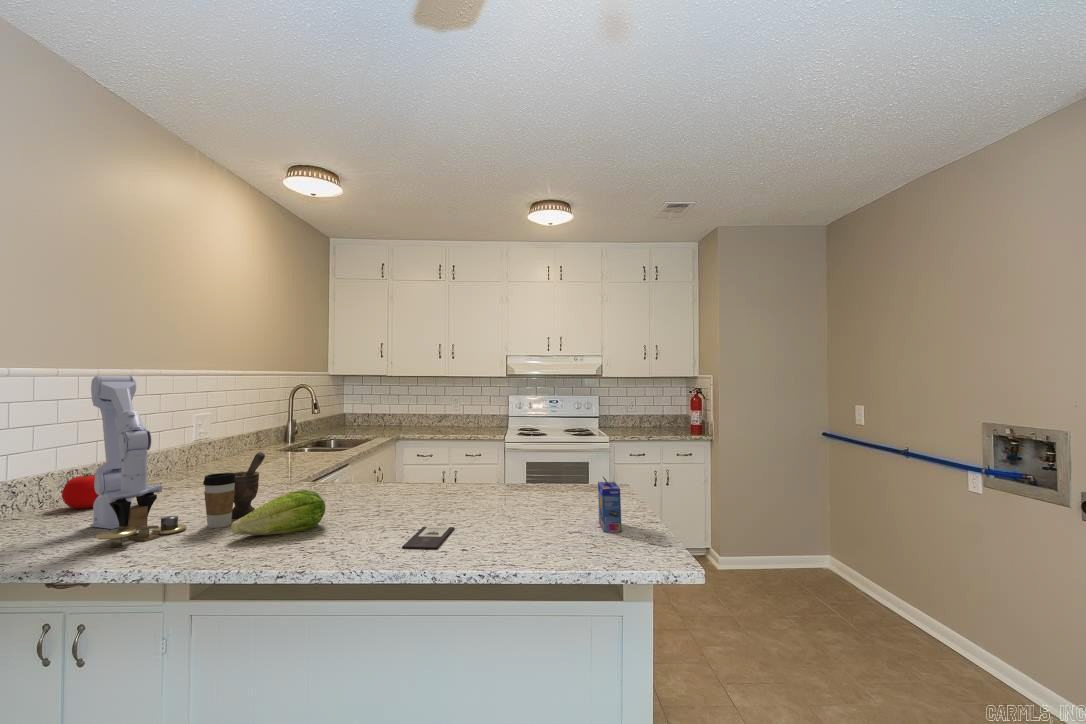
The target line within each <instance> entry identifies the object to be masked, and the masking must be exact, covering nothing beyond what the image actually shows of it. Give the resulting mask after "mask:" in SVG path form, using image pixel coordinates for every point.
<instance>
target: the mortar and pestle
mask: <svg viewBox="0 0 1086 724" xmlns="http://www.w3.org/2000/svg"><path fill="white" fill-rule="evenodd" d="M265 457H266V454H265V453H264V452H261V451H259V452H257V453H256V454H255V455H254V456H253V459H252V461H251V463H250V465H249V468H248V469H247V471H245V470H243V471H242V470H241V471H236V472H234V473H235V477H236V482H235V486H234V489H235V493H234V502H233V505H234V506H233V510H232V518H233V519H240V518H242V517H244V516H245V515H247V514H249V513H250V512H252V511H253V510H255V509H256V508H255V507H253V506H252V502H253V500H254V499H256V497H257V494H258V490H259V480H260V472H258V471H257V470H258V468H259V467H260V465H262V463H263V461H264V459H265Z"/></svg>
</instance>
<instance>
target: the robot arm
mask: <svg viewBox="0 0 1086 724" xmlns="http://www.w3.org/2000/svg"><path fill="white" fill-rule="evenodd" d="M136 390H137V381H136V379H135V377H134V376H133V375H129V376H99V375H96V376H94V377H93V378H92V379H91V385H90V393H91V402H92V406H93V407H96V408H98V409H99V411H100V413H101V419H102V420H101V421H102V429H103V430H102V431H103V440H104V453H105V454H104V455H105V462H104V463H103V464H101V465H100V466H99V467H98V468H96V470H95V473H94V475H95V481H94V488H95V492H96V494H98V495H100V496H98V497H97V498H96V500H95V502H94V505H93V507H92V509H93V510H92V511H93V512H92V513H93V514H92V517H93V518H92V523H90V524H89V527H94V528H100V529H101V528H102V529H103V528H104V529H110V530H114V529H119V525H120V526H123V527H126V526H127V525H128V515H129V509H130V506H134V501H133V499H134V498H135V499H136V501H137V502H136V503H137V505H142V506H148V515H149V513H150V510H151V508H152V506H153V504H154V503H155V501H156V500H157V498H158V493H159V494H160V493H162V492H163V485H162V484H155V485H149V486H148V483H147V482H148V451H149V450H150V449H151V447H152V434H151V431H150V430H149V429H148V428H147V427H144V424H143V421H142V418H141V415H140V414H139V412H137V411H135V410H134V407H133V399H134V397H135V394H136ZM156 493H157V494H156Z"/></svg>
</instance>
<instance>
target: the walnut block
mask: <svg viewBox="0 0 1086 724" xmlns="http://www.w3.org/2000/svg"><path fill="white" fill-rule="evenodd" d="M148 517H149V514H148V506H142V505H138V504H135V505H134V504H133V506H130V509H129V515H128V525H127V526H126V527H123V526H120V525H119V527H118V529H122V528H130V527H135V526H148ZM137 531H138V530H136V532H137Z"/></svg>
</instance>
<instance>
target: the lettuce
mask: <svg viewBox="0 0 1086 724" xmlns="http://www.w3.org/2000/svg"><path fill="white" fill-rule="evenodd" d="M325 513H326V503H325V500H324V499H323V498H322V496H321V495H319V494H318V493H317V492H315V491H311V490H305V489H302V490H297V491H292V492H289V493H286V494H283V495H282V494H281V495H280V496H278V497H276V498H275V497H274V499H272V500H270V501H268V502H266V503H263V504H262V505H261V506H258V507H257V508H255V510H253V511H252V512H250V513H249V514H247V515H245V516H244V517H240V518H237V519H236V520H235V521H232V522H231V524H230V528H231V529H230V530H231V532H232V533H233V534H234V535H251V536H252V535H254V536H267V535H281V534H292V533H298V532H303V531H307V530H312V529H313V528H314V527H316V526H317V525H318V524H319V523H320V522H321V521H322V519H323V517H324V515H325Z"/></svg>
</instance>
